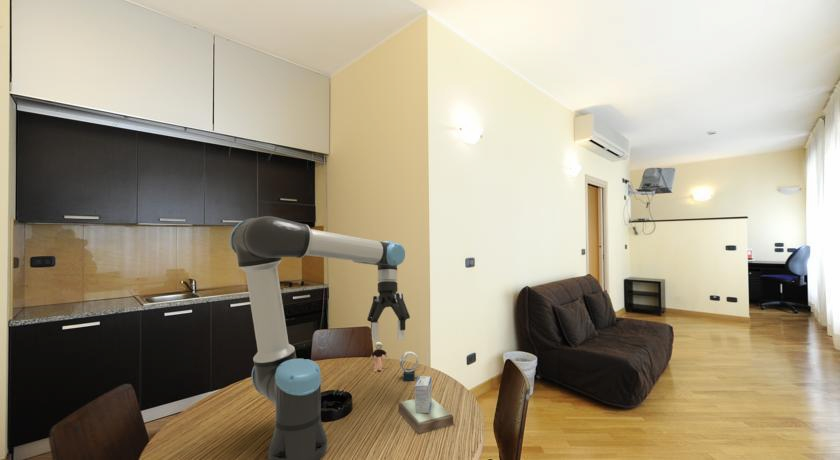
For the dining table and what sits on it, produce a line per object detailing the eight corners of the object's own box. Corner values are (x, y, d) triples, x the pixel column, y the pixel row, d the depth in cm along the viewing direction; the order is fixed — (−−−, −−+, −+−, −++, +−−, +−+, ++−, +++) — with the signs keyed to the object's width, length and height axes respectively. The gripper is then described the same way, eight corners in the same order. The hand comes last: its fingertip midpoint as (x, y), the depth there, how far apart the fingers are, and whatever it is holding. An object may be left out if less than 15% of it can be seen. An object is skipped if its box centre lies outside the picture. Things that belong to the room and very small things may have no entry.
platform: (418, 433, 103) (418, 423, 103) (398, 410, 117) (398, 401, 117) (453, 424, 108) (453, 414, 108) (430, 403, 122) (430, 394, 122)
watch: (399, 376, 148) (399, 350, 148) (418, 376, 147) (418, 350, 148) (398, 381, 142) (398, 354, 143) (418, 381, 142) (417, 354, 142)
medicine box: (429, 413, 108) (428, 385, 109) (415, 413, 109) (414, 385, 109) (431, 402, 116) (431, 376, 117) (418, 401, 117) (418, 375, 117)
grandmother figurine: (372, 373, 151) (372, 344, 152) (369, 370, 155) (369, 341, 155) (388, 370, 155) (388, 341, 156) (385, 367, 159) (385, 339, 159)
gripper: (418, 279, 127) (420, 339, 121) (373, 286, 143) (372, 340, 137) (404, 277, 122) (405, 340, 116) (358, 284, 138) (357, 341, 132)
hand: (387, 340), depth 127 cm, fingers open, 13 cm apart
